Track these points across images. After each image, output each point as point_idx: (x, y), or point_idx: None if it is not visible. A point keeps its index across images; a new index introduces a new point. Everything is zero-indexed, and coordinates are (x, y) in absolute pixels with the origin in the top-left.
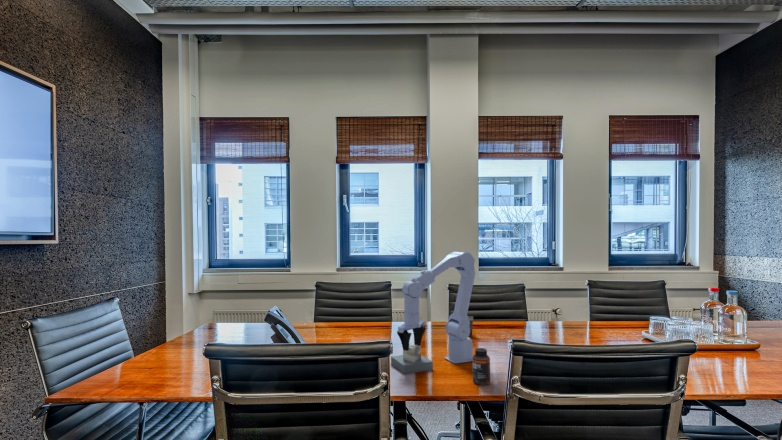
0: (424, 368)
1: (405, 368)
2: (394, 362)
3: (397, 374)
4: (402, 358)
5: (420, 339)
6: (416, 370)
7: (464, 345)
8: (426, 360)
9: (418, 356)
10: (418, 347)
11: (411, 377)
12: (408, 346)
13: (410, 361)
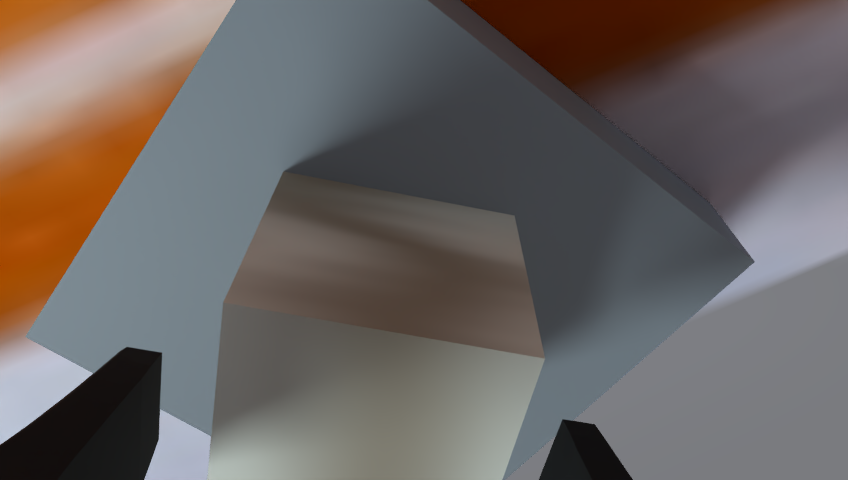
0: (457, 4)
1: (724, 228)
2: None
3: (753, 271)
4: None
5: (86, 445)
6: (571, 94)
7: None
8: (306, 49)
9: (359, 215)
10: (340, 314)
11: (818, 57)
12: (610, 476)
13: None
